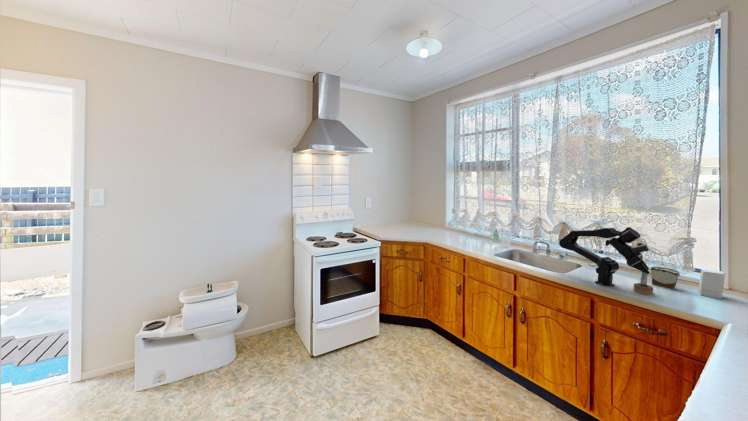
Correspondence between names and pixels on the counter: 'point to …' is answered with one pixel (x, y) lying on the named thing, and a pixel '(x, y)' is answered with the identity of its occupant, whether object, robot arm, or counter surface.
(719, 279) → the supplement box
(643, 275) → the teal-capped metal tube
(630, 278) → the counter surface
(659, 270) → the food container
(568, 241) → the robot arm
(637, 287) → the brown octagonal ring
